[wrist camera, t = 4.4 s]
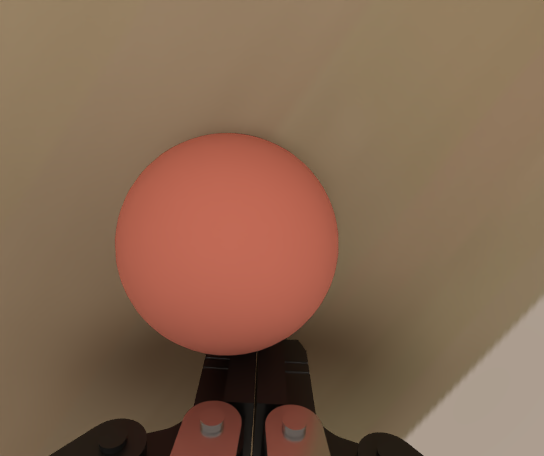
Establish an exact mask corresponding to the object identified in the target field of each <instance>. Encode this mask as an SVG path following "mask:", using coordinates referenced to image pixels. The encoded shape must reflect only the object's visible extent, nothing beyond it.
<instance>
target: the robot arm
mask: <svg viewBox="0 0 544 456" xmlns="http://www.w3.org/2000/svg"><path fill="white" fill-rule="evenodd" d="M255 372H256V383H255ZM254 394H255V406H254ZM253 411H254V429H253V452H252V456H423V455H422V454H421V453H419V452H418V451H417V450H415V449H414V448H413V447H412V446H411V445H409V444H408V443H407V442H405V441H404V440H402V439H401V438H399V437H397V436H394V435H391V434H388V433H371V434H368V435H367V436H365V437H364V438H363V439H362V440H361V441H360V443H359V444H358V443H355V442H352V441H349V440H346V439H343V438H340V437H338V436H336V435H334V434H332V433H331V432H329V431H328V430H327V429H326V428H324V427H323V425H322V422H321V421H320V419H319V418H318V416H317V415H316V413H315V407H314V400H313V393H312V387H311V380H310V375H309V367H308V360H307V354H306V350H305V349H304V347H303V346H302V345H301V343H300V342H299V341H298V340H286V339H284V340H282V341H280V342H278V343H277V344H275V345H273V346H270V347H268V348H265V349H263V350H260V351H258V352H257V366H256V352H252V353H248V354H241V355H212V354H206V358H205V361H204V365H203V370H202V374H201V378H200V382H199V386H198V390H197V394H196V399H195V403H194V406H193V407H192V408H191V409H190V410H189V411H188V412H187V413H186V414H185V416H184V418H183V421H182V422H180V423H179V424H177V425H175V426H173V427H171V428H168V429H164V430H160V431H156V432H151V433H147V434H146V431H145V429H144V427H143V426H142V425H141V424H139V423H138V422H136V421H134V420H130V419H114V420H110V421H106V422H104V423H102V424H100V425H98V426H96V427H94V428H93V429H91V430H90V431H88V432H86V433H85V434H83V435H82V436H80V437H78V438H77V439H75V440H74V441H72V442H70V443H69V444H67V445H66V446H64V447H62V448H61V449H59V450H58V451H56V452H54V453H53V454H51V455H50V456H250V453H251V439H252V425H253Z"/></svg>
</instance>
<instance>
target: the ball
mask: <svg viewBox="0 0 544 456" xmlns="http://www.w3.org/2000/svg"><path fill="white" fill-rule="evenodd" d="M115 249H116V263H117V267H118V271H119V275H120V279H121V282H122V285H123V287H124V289H125V292H126V294H127V296H128V297H129V299H130V301H131V302H132V304H133V305H134V307H135V309H136V310H137V312H138V313H139V314H140V315H141V316H142V317H143V319H144V320H145V321H146V322H147V323H148V324H149V325H150V326H151V327H152V328H154V329H155V330H156V331H157V332H159V333H160V334H161V335H162V336H164V337H165V338H167V339H169V340H170V341H172V342H174V343H176V344H178V345H181V346H183V347H185V348H188V349H190V350H194V351H197V352H201V353H205V354H212V355H241V354H248V353H252V352H256V351H260V350H263V349H265V348H268V347H270V346H273V345H275V344H277V343H278V342H280V341H282V340H284V339H286V338H287V337H289V336H290V335H292V334H293V333H294V332H296V331H297V330H298V329H300V328H301V327H302V326H303V325H304V324H305V323H306V322H307V321H308V320H309V319H310V318H311V316H312V315H313V314H314V313H315V311H316V310H317V309H318V307H319V306H320V305H321V303H322V301H323V299H324V298H325V296H326V294H327V292H328V290H329V288H330V285H331V283H332V280H333V277H334V274H335V269H336V264H337V258H338V229H337V223H336V219H335V214H334V211H333V208H332V205H331V203H330V200H329V198H328V196H327V194H326V192H325V190H324V188H323V186H322V185H321V184H320V182H319V181H318V179H317V178H316V177H315V175H314V174H313V173H312V171H311V170H310V169H309V168H308V167H307V166H306V165H305V164H304V163H303V162H301V161H300V160H299V159H298V158H297V157H295V156H294V155H293V154H292V153H290V152H289V151H287V150H286V149H284V148H282V147H280V146H278V145H276V144H274V143H272V142H269V141H267V140H264V139H261V138H258V137H255V136H250V135H245V134H237V133H218V134H210V135H205V136H200V137H197V138H193V139H190V140H188V141H185V142H183V143H181V144H178V145H176V146H174V147H173V148H171V149H169V150H167V151H166V152H164V153H163V154H161V155H160V156H159V157H158V158H157V159H155V160H154V161H153V162H152V163H151V164H150V165H148V166H147V167H146V168H145V170H144V171H143V172H142V173H141V174H140V175H139V177H138V178H137V180H136V181H135V183H134V184H133V185H132V187H131V188H130V190H129V192H128V194H127V196H126V198H125V200H124V203H123V205H122V208H121V211H120V214H119V217H118V222H117V228H116V236H115Z"/></svg>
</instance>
